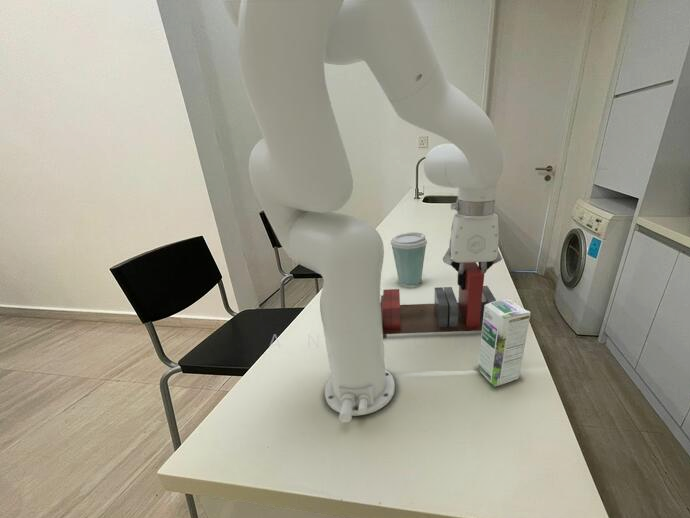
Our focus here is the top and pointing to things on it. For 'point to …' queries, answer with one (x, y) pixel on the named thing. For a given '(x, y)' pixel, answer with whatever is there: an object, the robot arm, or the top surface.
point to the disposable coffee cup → (409, 256)
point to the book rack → (427, 313)
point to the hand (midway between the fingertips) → (470, 286)
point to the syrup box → (502, 341)
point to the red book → (471, 295)
